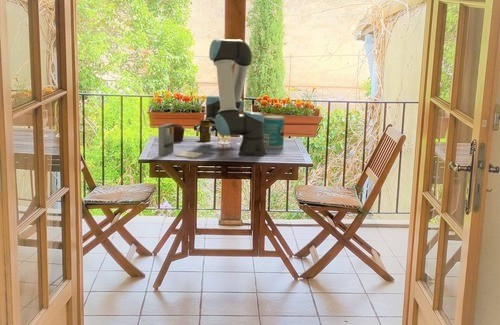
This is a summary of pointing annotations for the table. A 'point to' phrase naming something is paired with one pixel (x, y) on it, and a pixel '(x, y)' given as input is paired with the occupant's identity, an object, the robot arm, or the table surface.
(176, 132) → the muffin
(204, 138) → the condiment
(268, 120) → the food can
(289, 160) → the table surface
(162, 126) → the breaker box
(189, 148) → the table surface
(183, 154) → the tile
